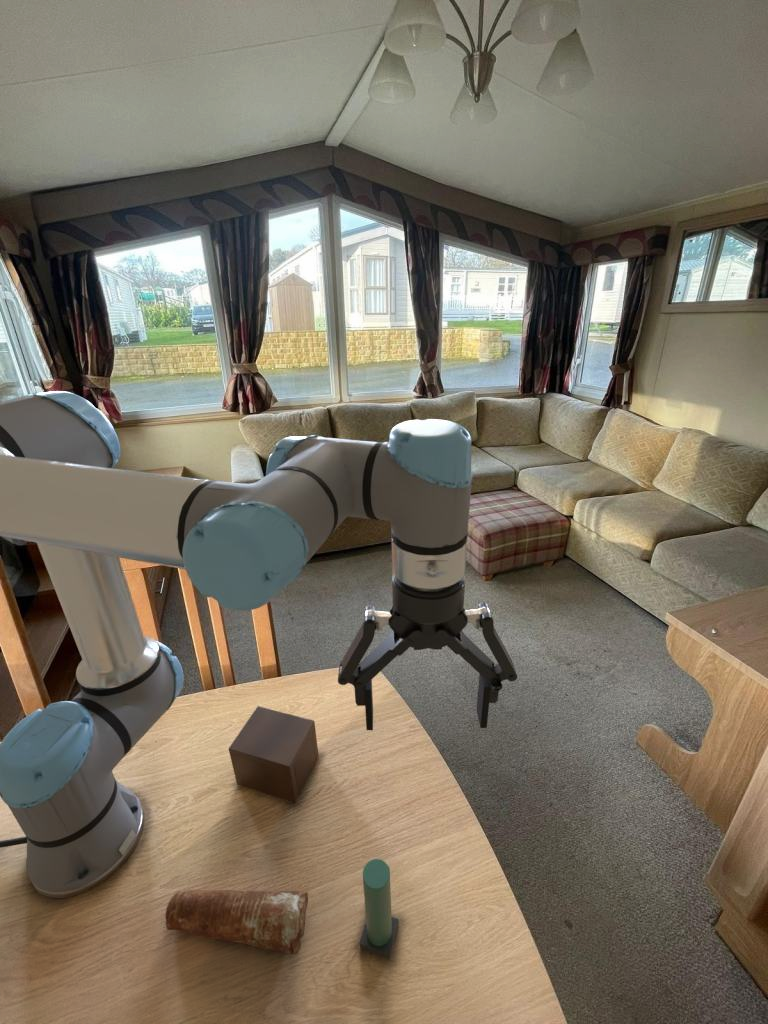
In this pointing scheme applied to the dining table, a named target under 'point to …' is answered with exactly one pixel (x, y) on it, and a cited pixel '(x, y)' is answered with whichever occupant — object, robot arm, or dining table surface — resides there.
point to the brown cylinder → (242, 916)
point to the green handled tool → (378, 910)
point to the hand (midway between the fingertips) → (425, 720)
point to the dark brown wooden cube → (275, 753)
